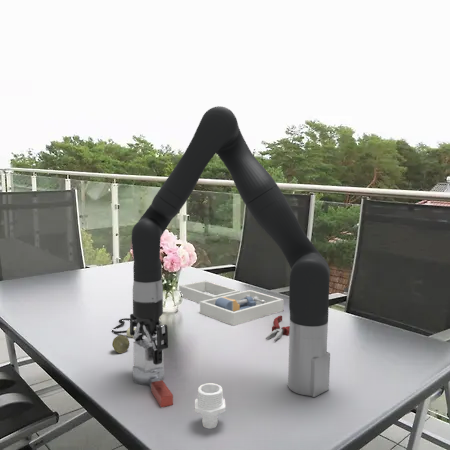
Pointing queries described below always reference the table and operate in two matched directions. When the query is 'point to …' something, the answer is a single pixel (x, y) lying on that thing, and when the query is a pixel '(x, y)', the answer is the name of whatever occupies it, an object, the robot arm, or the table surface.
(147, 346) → the pale grey cube
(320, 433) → the table surface
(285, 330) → the pliers
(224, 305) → the vise
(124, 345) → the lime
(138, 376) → the ratchet
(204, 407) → the pipe fitting
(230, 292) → the grey tray
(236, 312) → the white tray
